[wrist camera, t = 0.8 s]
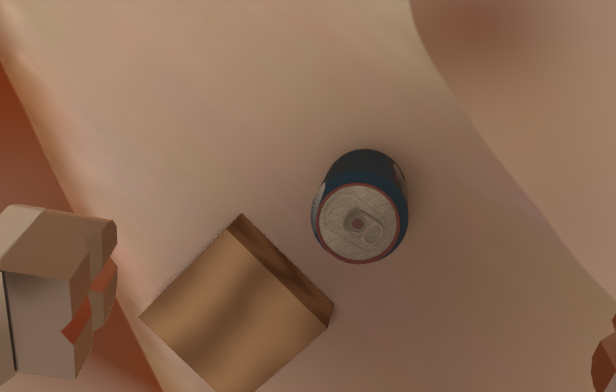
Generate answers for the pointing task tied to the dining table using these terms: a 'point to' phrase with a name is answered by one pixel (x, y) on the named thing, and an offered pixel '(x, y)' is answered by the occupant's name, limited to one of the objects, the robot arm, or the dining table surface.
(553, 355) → the dining table surface
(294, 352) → the block
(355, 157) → the soda can
